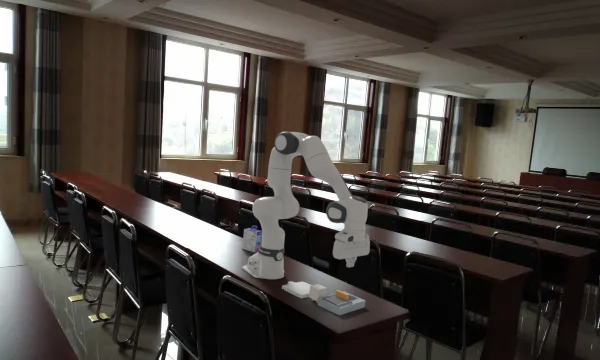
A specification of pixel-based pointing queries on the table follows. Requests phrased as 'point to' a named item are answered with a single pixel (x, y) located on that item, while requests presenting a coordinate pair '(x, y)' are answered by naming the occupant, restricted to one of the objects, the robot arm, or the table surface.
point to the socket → (342, 304)
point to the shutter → (338, 298)
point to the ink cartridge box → (252, 239)
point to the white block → (317, 292)
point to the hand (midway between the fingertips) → (349, 266)
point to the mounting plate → (298, 289)
